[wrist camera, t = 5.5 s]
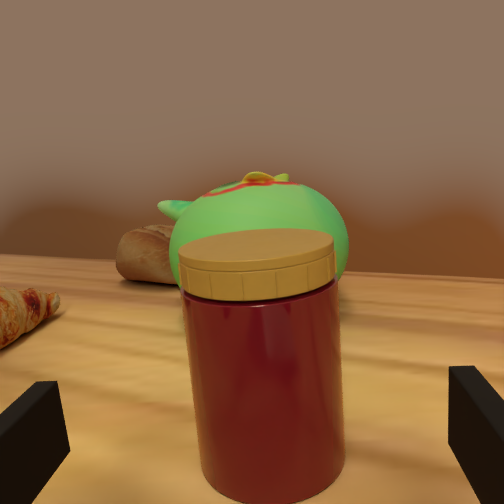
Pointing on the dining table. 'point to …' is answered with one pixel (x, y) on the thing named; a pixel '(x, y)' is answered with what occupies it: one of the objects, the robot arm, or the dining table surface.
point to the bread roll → (146, 254)
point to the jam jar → (267, 393)
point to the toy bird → (254, 213)
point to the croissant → (23, 311)
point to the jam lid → (257, 264)
